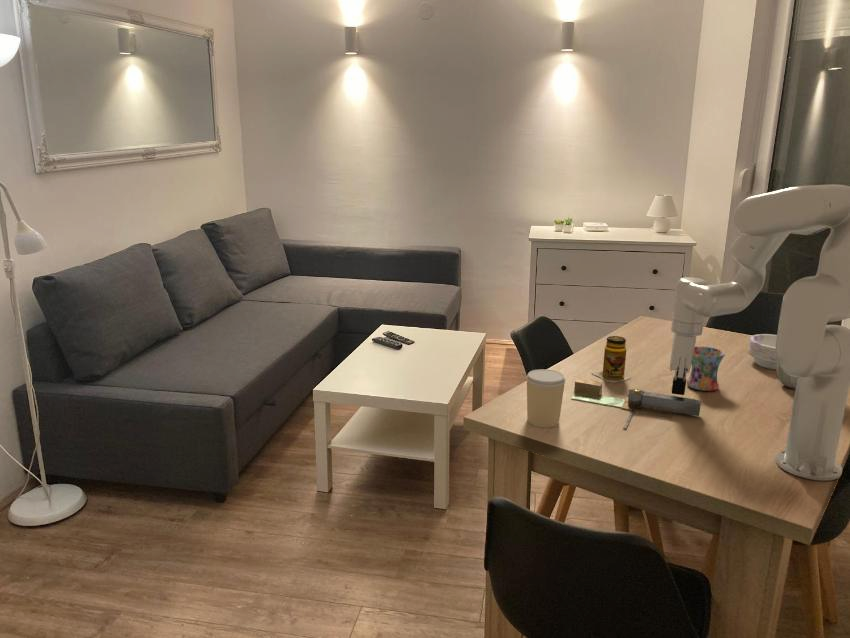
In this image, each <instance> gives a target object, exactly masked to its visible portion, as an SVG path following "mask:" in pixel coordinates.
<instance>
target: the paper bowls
mask: <svg viewBox="0 0 850 638" xmlns="http://www.w3.org/2000/svg"><path fill="white" fill-rule="evenodd" d="M776 339H777V334H771V333H770V334H769V333H761V334H759V333H758V334H754V335H751V336H750V337H749V340H748V341H749V342H748V348H747V354H749V355H750V357H752V358H753V361H754V363H755V364H756V365H758V366H759V367H762V368H765V369H768V370H776V371H777V359H776Z"/></svg>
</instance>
